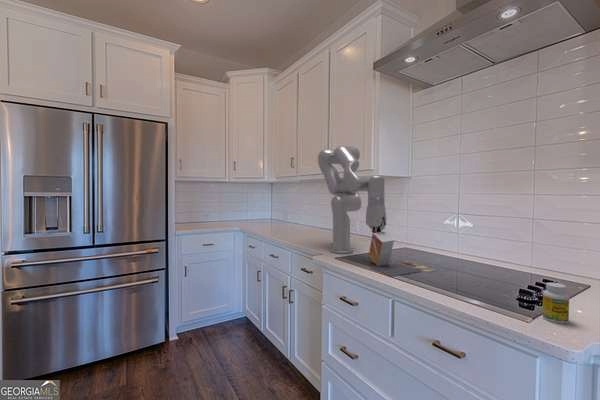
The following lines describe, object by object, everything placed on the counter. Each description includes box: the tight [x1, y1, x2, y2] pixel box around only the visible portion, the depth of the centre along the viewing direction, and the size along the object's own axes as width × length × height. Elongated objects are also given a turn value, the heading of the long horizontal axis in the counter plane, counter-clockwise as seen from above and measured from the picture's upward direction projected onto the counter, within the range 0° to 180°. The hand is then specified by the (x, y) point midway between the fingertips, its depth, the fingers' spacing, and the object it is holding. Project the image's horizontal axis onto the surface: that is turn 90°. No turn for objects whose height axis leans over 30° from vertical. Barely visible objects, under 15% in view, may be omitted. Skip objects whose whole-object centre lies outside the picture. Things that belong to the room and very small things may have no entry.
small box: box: [368, 231, 395, 266], centre depth 134 cm, size 8×6×13 cm
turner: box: [400, 259, 436, 273], centre depth 132 cm, size 17×5×1 cm, turn 23°
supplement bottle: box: [542, 282, 570, 325], centre depth 79 cm, size 5×5×10 cm
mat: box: [369, 263, 422, 278], centre depth 127 cm, size 14×16×1 cm
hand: (376, 240), depth 138 cm, fingers closed
